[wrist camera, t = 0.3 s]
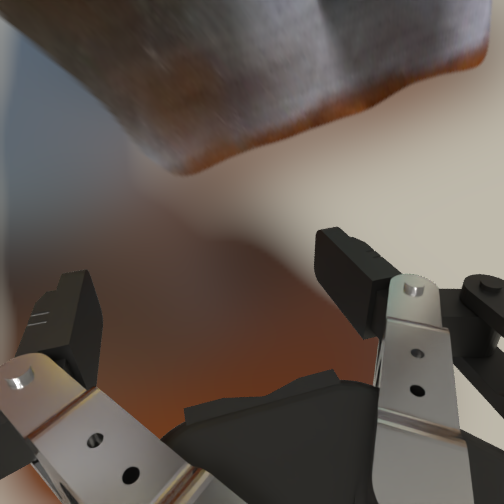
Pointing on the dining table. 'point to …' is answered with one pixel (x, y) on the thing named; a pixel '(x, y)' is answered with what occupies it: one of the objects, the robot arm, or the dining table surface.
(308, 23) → the dining table surface
